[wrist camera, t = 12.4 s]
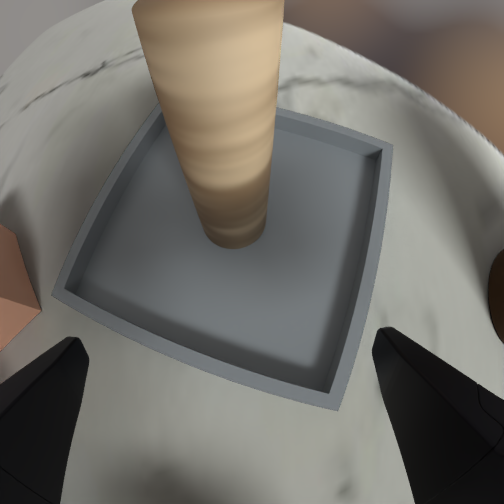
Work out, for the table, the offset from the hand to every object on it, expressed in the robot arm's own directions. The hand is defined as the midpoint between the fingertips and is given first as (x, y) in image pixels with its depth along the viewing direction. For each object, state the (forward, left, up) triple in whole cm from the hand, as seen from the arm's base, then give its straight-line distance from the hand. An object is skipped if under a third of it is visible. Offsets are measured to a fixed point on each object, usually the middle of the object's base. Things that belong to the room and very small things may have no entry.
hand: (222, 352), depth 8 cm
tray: (+3, -7, -9) cm, 12 cm away
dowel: (+3, -7, -8) cm, 12 cm away
